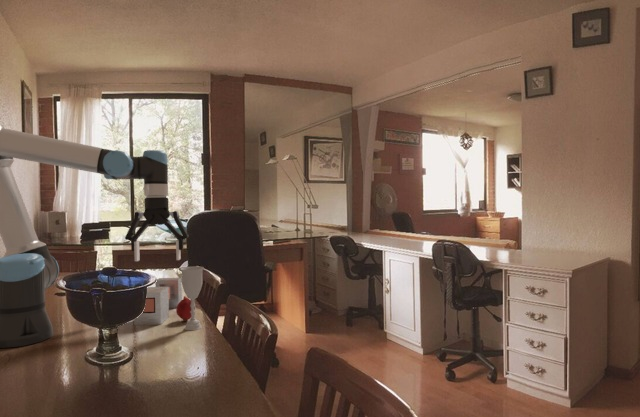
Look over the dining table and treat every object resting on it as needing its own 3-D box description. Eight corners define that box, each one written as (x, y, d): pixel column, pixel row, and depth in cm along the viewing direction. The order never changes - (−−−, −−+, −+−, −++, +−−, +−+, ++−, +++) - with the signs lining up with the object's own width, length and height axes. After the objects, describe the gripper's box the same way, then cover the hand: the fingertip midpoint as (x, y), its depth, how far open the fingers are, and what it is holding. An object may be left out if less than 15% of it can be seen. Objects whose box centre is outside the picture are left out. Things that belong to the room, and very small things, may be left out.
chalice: (197, 331, 127) (196, 270, 126) (176, 330, 128) (175, 269, 128) (209, 324, 134) (208, 266, 133) (188, 323, 135) (187, 266, 135)
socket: (178, 307, 157) (178, 279, 156) (155, 308, 156) (155, 280, 156) (181, 304, 161) (181, 277, 161) (159, 305, 160) (159, 278, 160)
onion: (198, 318, 141) (197, 294, 141) (191, 323, 135) (190, 298, 135) (181, 318, 142) (180, 294, 142) (173, 323, 136) (172, 297, 136)
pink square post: (154, 311, 135) (153, 298, 135) (140, 312, 135) (140, 299, 135) (170, 298, 153) (169, 287, 153) (158, 299, 153) (158, 287, 152)
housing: (160, 324, 135) (160, 292, 135) (134, 325, 135) (133, 293, 134) (168, 316, 144) (168, 286, 144) (144, 317, 144) (143, 287, 143)
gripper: (196, 196, 150) (198, 257, 151) (122, 197, 149) (124, 259, 149) (191, 196, 143) (193, 260, 143) (113, 197, 141) (115, 262, 141)
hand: (157, 260), depth 146 cm, fingers open, 13 cm apart
